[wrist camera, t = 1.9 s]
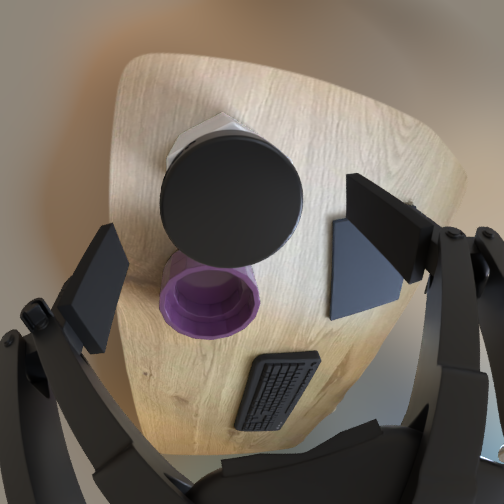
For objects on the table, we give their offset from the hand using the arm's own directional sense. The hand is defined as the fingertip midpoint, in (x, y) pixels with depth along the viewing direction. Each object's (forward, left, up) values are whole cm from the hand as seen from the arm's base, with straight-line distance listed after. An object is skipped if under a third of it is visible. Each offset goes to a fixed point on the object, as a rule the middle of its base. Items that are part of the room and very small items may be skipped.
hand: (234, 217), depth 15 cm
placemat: (+17, +17, -13) cm, 27 cm away
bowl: (+13, -4, -13) cm, 18 cm away
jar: (0, 0, -13) cm, 13 cm away
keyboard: (+45, 0, -13) cm, 47 cm away
